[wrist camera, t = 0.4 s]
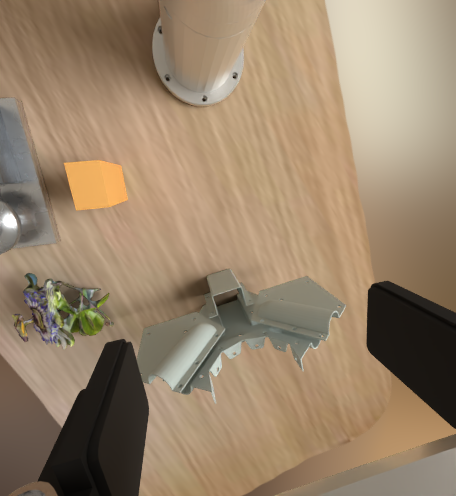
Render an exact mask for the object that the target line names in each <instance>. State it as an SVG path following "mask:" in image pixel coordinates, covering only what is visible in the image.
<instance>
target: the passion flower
mask: <svg viewBox="0 0 456 496" xmlns="http://www.w3.org/2000/svg"><path fill="white" fill-rule="evenodd" d="M24 277H25V278H26V279H27V280H28V283H29V285H28V286H27V288H26V289H25V290H24V291H23V293H24V295H25V297H26V299H25V300H24V301H25V303H26V304H28V306H29V308H30V309H31V310H32V312H33V313H32V315H33V317H32V318H31V319H30V320H28V321H24V320H23V317H22V315H21V314H15V315H12V317H13V318H14V321H15V323H14V326H15V329H16V330H17V331H18V333H19V336H20V337H21V338H22V339H23V340H24V342H27V341H28V336H27V331H26V325H28V324H29V323H34V328H35V329H36V331H39V332H40V333H41V336H42V339H43V341H45V342H46V343H49V342H50V343H52V344H53V342H55V343H56V347H59V345H60V344H62V347H63V350H64V349H65V348H66V347H67V345H70V347H72V346H73V345H74V342H75V340H74V337H73V336H72V334H71V333H74V332H78V331H79V333H80V334H81V335H85V336H86V335H89V336H92V335H96V334H97V333H98V332H99V331H101V329H102V327H103V324H104V321H105V320H104V318H103V316H102V315H101V314H99V313H98V312H97V311H95V309H97V310H98V311H99V312H100V313H102V314H103V315H104V316H105V317H106V318H107V319H108V320H109V321H110V318H109V317H108V316H107V315H106V314H105V313H104V312H102V311H101V310H100V309H99V308H98V307H100V306H101V305H102V304H103V303H105V301H106V300H107V299H108V296H109V293H108V294H107V295H106V296H104V297H103V298H102V299H101V300H98V301H91V297H92V296H93V293H94V292H95V291H98V290H101V289H89V290H88V289H85V288H82V289H80V288H77V287H74V286H71V285H69V284H67V283H65V282H61V281H56V282H54V281H53V280H52V279H47V280H46V281H45V283H44V287H41V288H39V287H38V286H37V277H36V276H35V275H34V274H32V273H27V274H26V275H25V276H24ZM61 285H65V286H67V287H69V288H72V289H75V290H78V291H79V295H80V296H79V298H77V299H76V300H74V301H73V302H72V303H74V302H76V301H79V302H80V305H79V307H78V308H77V309H75V308H73V307H72V306H70V305H71V304H72V303H70V304H69V303H68V302H67V300H66V299H65V297H64V295H63V294H61V292H60V290H59V288H60V286H61ZM83 297H85V298H86V299H87V300H88V301H89V303H90V304H89V305H88V306H86V305H83V302H82V301H83ZM57 309H59V310H57ZM60 311H64V312H67V313H70V314H69V316H68V317H67V318H65V319H63V317H62V316H61V314H60ZM105 325H107V326H113V325H114V323H113V322H106V323H105Z"/></svg>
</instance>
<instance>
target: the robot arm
mask: <svg viewBox="0 0 456 496" xmlns="http://www.w3.org/2000/svg"><path fill="white" fill-rule="evenodd" d="M265 1H266V0H159V8H160V18H159V20H158V22H157V24H156V26H155V29H154V33H153V40H152V52H153V59H154V64H155V67H156V70H157V73H158V75H159V77H160V79H161V81H162V82H163V84H164V85H165V87H166V88H167V89H168V90H169V91H170V92H171V93H172V94H173V95H174V96H175V97H176V98H178V99H179V100H181V101H183V102H185V103H187V104H190V105H194V106H203V107H206V106H211V105H215V104H217V103H219V102H221V101H223V100H224V99H225V98H227V97H228V96H229V95H230V94H231V93H232V92H233V90H234V89H235V87H236V86H237V84H238V82H239V80H240V77H241V74H242V70H243V64H244V49H243V46H244V44H245V42H246V40H247V38H248V36H249V34H250V32H251V30H252V28H253V26H254V24H255V22H256V20H257V18H258V16H259V13H260V11H261V9H262V7H263V5H264V3H265ZM160 32H162V34H160ZM233 76H234V77H235V79H234V78H233ZM167 78H168V79H169V80H170V81H166V79H167ZM202 99H205V102H203V101H202ZM367 348H368V350H369V352H370V353H371V354H372V355H373V356H374V357H375V358H376V359H377V360H378V361H380V362H381V363H382V364H383V365H384V366H385V367H386V368H387V369H388V370H390V371H391V372H392V373H393V374H394V375H395V376H396V377H397V378H399V379H400V380H401V381H402V382H403V383H404V384H405V385H406V386H407V387H409V388H410V389H411V390H412V391H413V392H414V393H415V394H417V395H418V396H419V397H420V398H421V399H422V400H423V401H424V402H425V403H427V404H428V405H429V406H430V407H431V408H432V409H433V410H434V411H436V412H437V413H438V414H439V415H440V416H441V417H442V418H443V419H444V420H445V421H447V422H448V423H449V424H450V425H451V426H452V427H454V428H455V429H456V313H455V312H453V311H451V310H449V309H446V308H444V307H442V306H440V305H438V304H436V303H434V302H432V301H430V300H427V299H425V298H423V297H421V296H419V295H417V294H415V293H413V292H411V291H408V290H407V289H404V288H402V287H400V286H398V285H396V284H394V283H392V282H389V281H384V282H379V283H374V284H372V285H371V288H370V289H369V290H368V309H367ZM148 415H149V405H148V399H147V396H146V392H145V389H144V385H143V382H142V378H141V374H140V371H139V367H138V364H137V360H136V356H135V353H134V349H133V346H132V343H131V342H127V343H126V341H125V339H121V340H116V341H112V342H108V343H106V344H105V346H104V349H103V351H102V353H101V356H100V358H99V360H98V362H97V365H96V367H95V369H94V371H93V374H92V376H91V378H90V380H89V383H88V385H87V387H86V389H83V390H82V391H80V393H79V394H78V396H77V398H76V400H75V402H74V404H73V406H72V409H71V411H70V413H69V415H68V417H67V419H66V421H65V424H64V426H63V428H62V430H61V432H60V434H59V437H58V439H57V441H56V443H55V445H54V447H53V449H52V451H51V454H50V456H49V458H48V460H47V462H46V464H45V467H44V468H43V471H42V473H41V475H40V477H39V479H38V481H37V482H34V483H30V484H28V485H25V486H24V487H21V488H19V489H17V490H16V491H14V492H13V493H11V494H10V495H8V496H138V494H139V486H140V478H141V471H142V463H143V455H144V447H145V439H146V431H147V423H148ZM274 496H456V434H454V435H451V436H448V437H446V438H442V439H439V440H436V441H433V442H430V443H427V444H424V445H421V446H418V447H416V448H412V449H409V450H406V451H403V452H400V453H398V454H395V455H392V456H388V457H385V458H383V459H380V460H377V461H374V462H371V463H368V464H365V465H362V466H359V467H356V468H353V469H350V470H347V471H344V472H341V473H338V474H336V475H332V476H329V477H326V478H323V479H321V480H318V481H315V482H312V483H309V484H306V485H303V486H300V487H297V488H295V489H292V490H289V491H286V492H283V493H280V494H277V495H274Z"/></svg>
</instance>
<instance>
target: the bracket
mask: <svg viewBox="0 0 456 496" xmlns="http://www.w3.org/2000/svg"><path fill="white" fill-rule="evenodd" d="M206 278H207V281H208V285H209V288H210V291H211V292H210V293H207V294H204V296H205V301H206V305H203V307H202V308H201V310H200V312H199V313H198V312H194V313H190V314H187V315H184V316H181V317H178V318H175V319H172V320H169V321H166V322H163V323H159V324H156V325H153V326H150V327H147V328H144V330H143V335H142V339H141V344H140V348H139V352H138V357H137V364H138V367H139V371H140V374H142V375H141V378H142V382H144V383H147V384H150V383H151V382H152V381H153V380H154V379H155V377H156V376H158V377H160V378H162V379H163V381H165V382H166V383H168V385H169V386H170V388H171V389H172V391H175V392H178V393H182V394H186V395H188V394H190V393H191V392H192V390H193V389H194V388H198V389H202V390H206V391H210V392H211V393H212V396H213V399H214V402H215V404H216V400H215V394H214V388H213V384H212V381H211V378H210V374H209V371H210V372H211V373H212V374H213V375H214V377H216V376H217V375H218V373H219V371H220V370H221V368H222V363H221V353H222V352H224V353H225V354H226V355H227V356H228V358H229V359H232V358H234V357H235V356H237V355H239V354H240V353H241V343H242V342H244V341H246V342H247V344H248V345H249V347H250V348H251V349H259V348H263V347H264V341H265V337H269V339H270V341H271V342H272V344H273V346H274V348H275V349H277V350H280V351H283V352H286V350H287V345H288V344H290V347H291V350H292V353H293V356H294V359H295V360H296V362H297V363H298V365H299V366H300V368H301V370H302V371H304V370H303V365H302V360H301V359H302V357H303V356H304V354H305V352H306V351H307V349H308V348H309V347H310V348H313V349H316V348H317V347H318V345H319V343H320V341H321V340H324V341H326V340H327V338H328V336H329V324H330V320H331V317H336V318H339V317H340V316H341V314H342V312H343V311H344V309H345V307H346V305H345V304H344V303H342V302H341V301H340V300H338V299H337V298H336V297H334V296H333V295H332V294H330V293H329V292H328V291H326V290H325V289H324V288H322V287H321V286H319V285H318V284H317V283H315V282H314V281H313V280H311V279H310V278H309V277H307V276H305V277H302V278H299V279H296V280H293V281H290V282H287V283H283V284H280V285H277V286H274V287H271V288H268V289H265V290H262V291H260V292H259V295H256V294H254V293H251V292H249V291H247V290H246V289H245V287H244V285H243V284H242V283H239V282H238V280H237V279H236V277H235V275H234V274H233V272H232V270H231V269H227V270H224V271H220V272H217V273H214V274H211V275H207V277H206ZM306 282H309V283H306ZM241 286H242V287H241ZM234 289H237V290H238V292H239V294H237V298H238V300H236V301H233V302H229V303H226V304H223V305H220V306H216V304H215V302H214V299H213V297H214V296H215V295H219V294H222V293H225V292H228V291H231V290H234ZM266 295H268V296H266ZM265 296H266V297H265ZM207 297H208V298H207ZM280 300H282V301H280ZM338 306H341V308H338ZM251 312H253V313H251ZM193 319H195V320H193ZM185 331H187V332H186V333H184V332H185ZM149 333H151V334H149ZM148 334H149V335H148ZM239 335H242V336H239ZM321 335H323V336H324V337H321ZM238 336H239V337H238ZM295 343H297V344H295ZM256 344H258V345H259V346H258V347H255V345H256ZM278 346H280V347H281V349H280V348H279V347H278ZM233 352H236V354H235V355H233ZM217 367H218V371H217ZM202 375H204V377H203V378H201V377H202Z"/></svg>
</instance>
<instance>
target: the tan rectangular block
mask: <svg viewBox="0 0 456 496" xmlns="http://www.w3.org/2000/svg"><path fill="white" fill-rule="evenodd" d="M64 165H65V169H66V173H67V177H68V181H69V185H70V189H71V193H72V197H73V201H74V204H75V208H76V211H77V210H86V209H96V208H105V207H111V206H113V205H116V204H118V203H121V202H124V201H126V200H128V198H127V193H126V188H125V183H124V178H123V173H122V168H121V166H120V165H116V164H112V163H108V162H104V161H101V160H95V161H82V162H69V163H64Z"/></svg>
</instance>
